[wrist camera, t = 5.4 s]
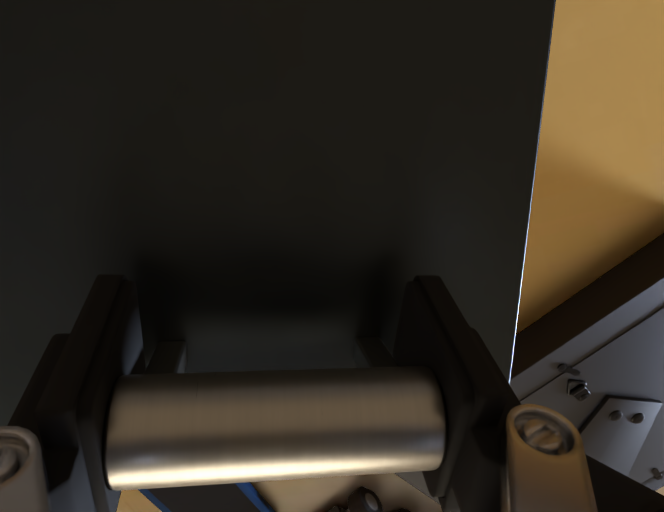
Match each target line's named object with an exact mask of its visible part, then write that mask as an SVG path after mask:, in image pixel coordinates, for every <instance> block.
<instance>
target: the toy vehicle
mask: <svg viewBox="0 0 664 512" xmlns="http://www.w3.org/2000/svg"><path fill="white" fill-rule="evenodd" d="M348 508H349V509H348V510H344V509H342V508H340V507H338V506H335V507H334V508H332V509H331V510H330V511H328V512H383V508H382V505H381V502H380V500H379V498H378V497H377V495H376V494H375V493H374V492H373V491H371V490H369V489H367V488H365V487H360V488H359V489H357V490H356V491H355V492H354V493H352V494H351V495H350V496H349V498H348ZM398 512H410V511H409V510H407V509H401V510H400V511H398Z"/></svg>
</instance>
